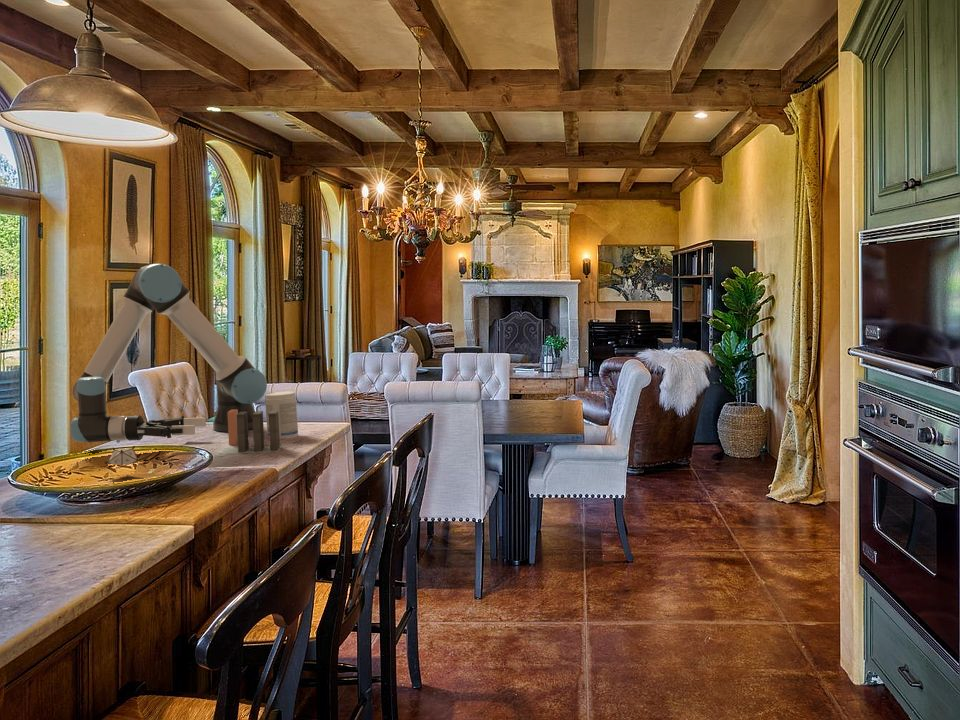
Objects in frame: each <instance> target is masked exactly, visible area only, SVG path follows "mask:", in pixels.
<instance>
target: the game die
mask: <svg viewBox="0 0 960 720" xmlns="http://www.w3.org/2000/svg"><path fill="white" fill-rule="evenodd" d="M135 448H136V446H135V445H133V446H132V448H119V449H115V447H111V449H112V453H111V455H110V456H109V458H108V461H104V464H107V465H108V464H114V465H115V464H117V465H123V464H130V463H134V462H138V461H139V462H141V458H138V455H137V453H136V451H135V450H134V449H135Z"/></svg>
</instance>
